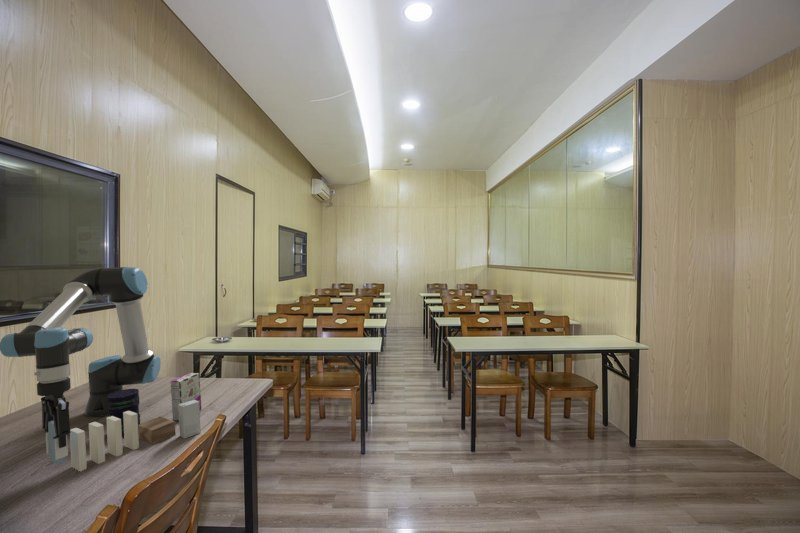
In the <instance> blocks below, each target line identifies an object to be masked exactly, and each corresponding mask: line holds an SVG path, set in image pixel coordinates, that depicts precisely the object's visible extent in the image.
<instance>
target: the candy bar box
mask: <svg viewBox="0 0 800 533" xmlns="http://www.w3.org/2000/svg"><path fill="white" fill-rule="evenodd" d="M200 380H201V379H200V372H189V373H187V374H185V375H182V376H180V377H177V378H176V379H173V380H171V381H170V394H171V396H170V397H171V410H172V411H171V414H172V421H175V422H176V421H178V422H179V412H178V404H182V403H185V402H188V401H192V400H196V401H198V402H199V411H202V399H201V398H202V396H201V395H202V394H201V381H200Z"/></svg>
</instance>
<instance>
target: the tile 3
mask: <svg viewBox="0 0 800 533" xmlns="http://www.w3.org/2000/svg"><path fill="white" fill-rule="evenodd" d="M106 437H107V439H106V440H107V441H106V442H107V453H108V454H111V455H112V456H114V457H119V456H122V455H124V454H123V437H122V430H121V419H119V418H117V417H114V416H111V417H109V416H108V417H107V416H106Z"/></svg>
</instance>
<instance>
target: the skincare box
mask: <svg viewBox="0 0 800 533" xmlns="http://www.w3.org/2000/svg"><path fill="white" fill-rule="evenodd" d="M178 412H179V421H178V424H179V425H178V426H179V436H180V437H181V438H182V439H187V438H190V437H192V436H195V435H198V434H200V433H201V414H200V411H199V402H198V401H196V400H192V401H188V402H185V403H182V404H178Z"/></svg>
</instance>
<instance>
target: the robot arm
mask: <svg viewBox="0 0 800 533" xmlns="http://www.w3.org/2000/svg"><path fill="white" fill-rule="evenodd" d="M147 290H148V280H147V276H146V274H145V272H144V271H143V270H142V269H141V268H139V267H135V266H133V267H131V266H121V267H120V266H118V267H96V268H92V269H90V270H86V271H85V272H82V273H80V274H79V275H77V276H75V277H73V278H71V280H69V281H68V282H66V284H65V285H64V286H63V288H62V292H61V293H60V294H59V295H58V296H57V297H55V299H53V301H52V302H50V304H49V305H47V306H46V307H45V308H44V309H43V310H42V311H41V312H40V313H39V314H37V316H36V317H35V318H33V320H31V322H30V323H28V325H26V326H25V327H24V328H23V329H22V330H21V331H20V332H13V333H8V334H5V335H4V336H2V338H1V339H0V353H1V354H2V355H3V356H4V357H7V358H23V357H32V356H33V357H35V363H36V364H35V367H36V369H35V370H36V372H33V375H34V376H36V381H37V383H36V394H37V396H39V397H41V398H40V401H41V417H42V419H41V421H42V422H41V425H42V426H41V428H42V430H44V433H45V444H46V455H49V433H48V421H51V420H53V421H54V427H55V433H56V436H55V437H53V439H55V459H56V460H57V459H60V458H63V457H65V458H66V457H68V456H69V451H68V445H69V444H68V435H70V430H71V423H70V410H69V409H70V402H69V401H66V400H67V399H66V397H65V395H64V393H66V392H68V391H69V390H71V378H70V376H71V364H70V355H72V354H75V353H78V352H82V351H83V350H85V349H87V348H89V347H90V346H91V344H92V343H93V342H94V335H93V333H92V332H91V331H90V329H87V328H85V327H77V328H76V327H75V328H72V329H67V328H66V327H63V325H64V324H65V323H66V322H67V321H68V320H69V319H70V318H71V317H72V316H73V315H74V313H75V312H76V311H77V310H79V308H80V307H81V306H82V305H83V304H84V303H87V302H89V301H90V300H91V299H92V298H95V297H106V296H107V297H108V298H109V301H110V303H112V304H114V305H115V308H116V314H117V320H118V325H119V328H120V333H121V340H122V343H123V344H122V345H123V348H124V349H123V350H124V355H123V356H122V355H119V354H118V355H117V354H116V355H110V356H106V357H101V358H99V359H96V360H93V361H91V362H90V363H89V364H88V368H87V369H88V370H87V371H88V372H87V374H88V390H89V391H88V392H89V396H88V400H87V402H86V406H85V408H84V415H85V416H86V417H88V418H95V417H98V418H99V417H104V416H108V415H109V411H108V395H109V394H111V393H113V392H116V391H120V390H124V389H123V387H124V386H131V385H145V384H149V383H151V384H152V383H154V382H155V380H156V379H157V378H158V376H159V373H160V370H161V364H162V363H161V362H162V361H161V357H160V356H159V355H154V350H152V349H151V348H149V344H148V338H147V332H146V327H145V326H146V325H145V322H144V321H145V320H144V317H143V310H142V305H141V304H142V303H141V300H142V299H143V298H144V295H145V294H146V292H147Z"/></svg>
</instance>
